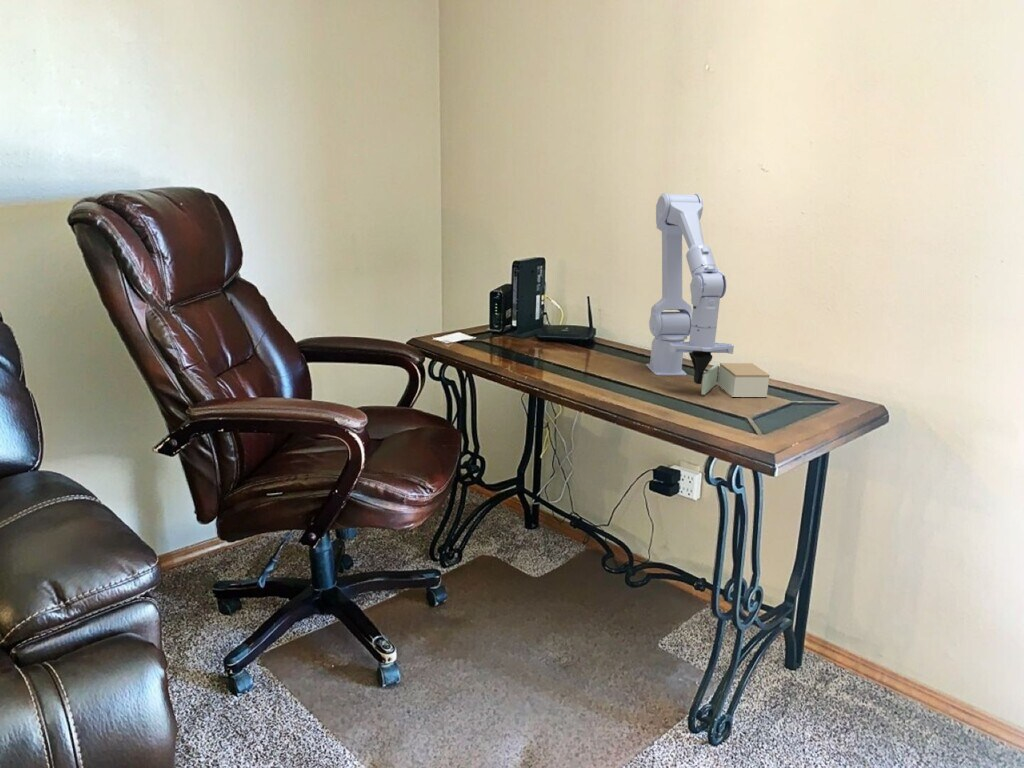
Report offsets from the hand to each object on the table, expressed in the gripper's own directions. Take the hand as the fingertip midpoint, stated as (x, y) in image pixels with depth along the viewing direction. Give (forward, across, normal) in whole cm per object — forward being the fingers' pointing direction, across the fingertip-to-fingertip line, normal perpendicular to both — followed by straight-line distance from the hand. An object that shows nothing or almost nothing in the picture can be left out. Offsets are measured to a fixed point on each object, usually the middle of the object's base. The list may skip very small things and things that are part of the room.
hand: (697, 382), depth 183 cm
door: (+2, +4, +2) cm, 5 cm away
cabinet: (+2, +11, +1) cm, 12 cm away
